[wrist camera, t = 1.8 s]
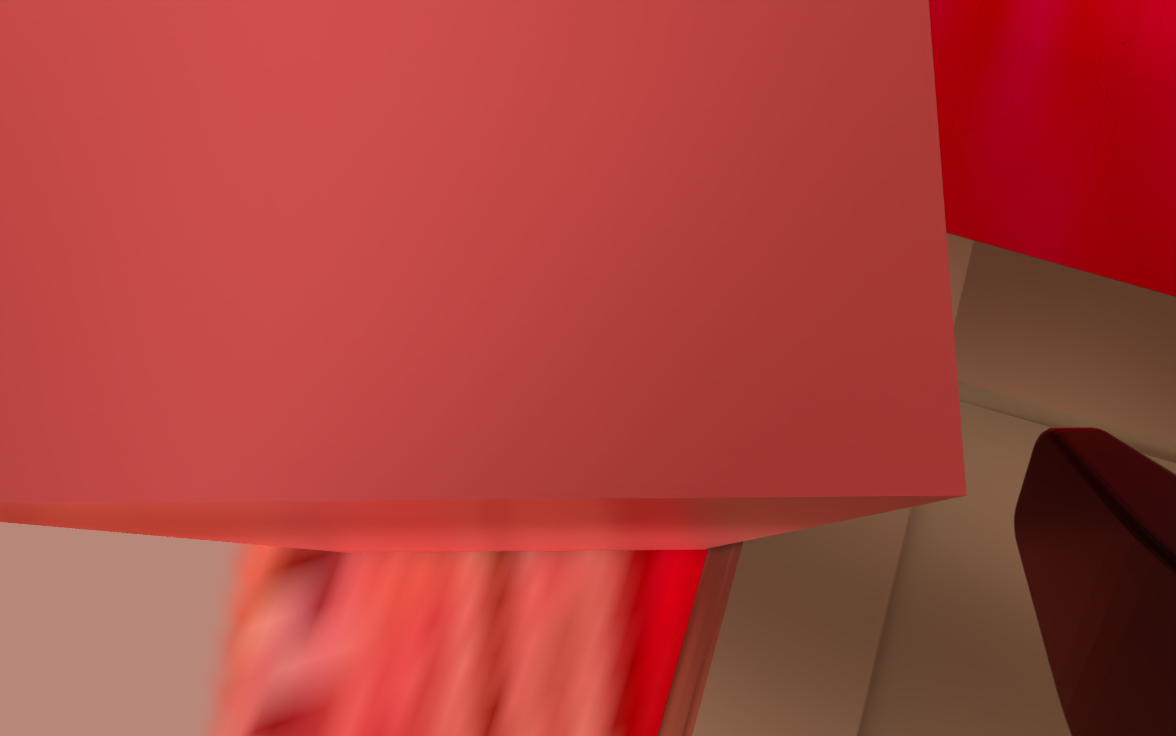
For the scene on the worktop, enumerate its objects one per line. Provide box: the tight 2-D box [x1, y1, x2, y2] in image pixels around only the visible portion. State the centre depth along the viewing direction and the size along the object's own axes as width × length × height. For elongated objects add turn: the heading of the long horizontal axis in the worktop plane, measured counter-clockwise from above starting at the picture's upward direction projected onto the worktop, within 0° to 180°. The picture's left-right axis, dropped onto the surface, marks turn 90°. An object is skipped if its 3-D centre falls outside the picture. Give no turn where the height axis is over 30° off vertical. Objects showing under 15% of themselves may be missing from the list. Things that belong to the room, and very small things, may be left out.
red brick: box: [0, 0, 967, 553], centre depth 12 cm, size 6×6×12 cm
